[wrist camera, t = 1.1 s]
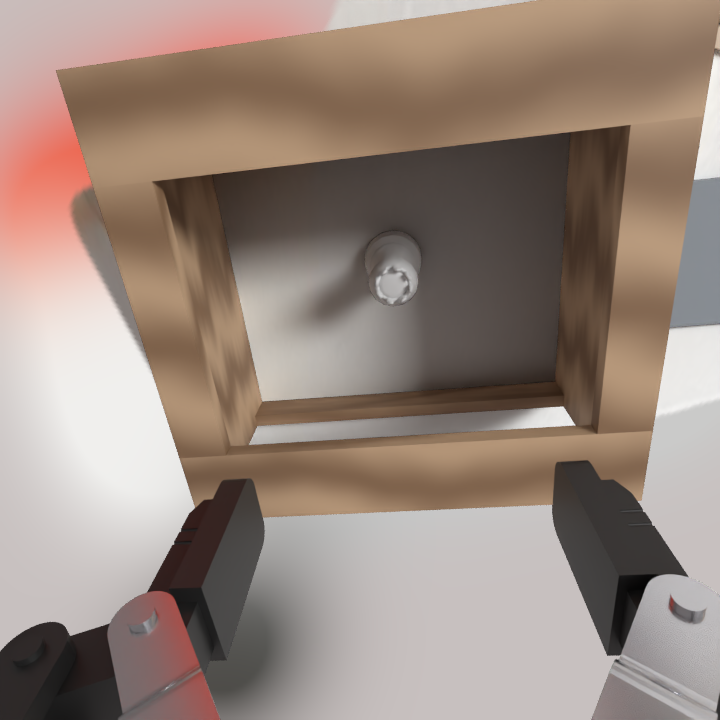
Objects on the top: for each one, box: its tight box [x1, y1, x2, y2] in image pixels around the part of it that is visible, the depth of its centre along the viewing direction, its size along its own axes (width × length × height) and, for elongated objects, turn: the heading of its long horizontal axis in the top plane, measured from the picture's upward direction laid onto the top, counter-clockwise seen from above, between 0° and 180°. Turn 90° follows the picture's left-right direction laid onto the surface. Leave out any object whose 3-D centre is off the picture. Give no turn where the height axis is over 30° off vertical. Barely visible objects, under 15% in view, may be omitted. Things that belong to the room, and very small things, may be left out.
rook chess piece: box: [365, 230, 422, 306], centre depth 35 cm, size 4×4×8 cm
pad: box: [670, 177, 720, 327], centre depth 36 cm, size 11×11×1 cm
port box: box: [56, 0, 720, 517], centre depth 32 cm, size 26×28×14 cm
